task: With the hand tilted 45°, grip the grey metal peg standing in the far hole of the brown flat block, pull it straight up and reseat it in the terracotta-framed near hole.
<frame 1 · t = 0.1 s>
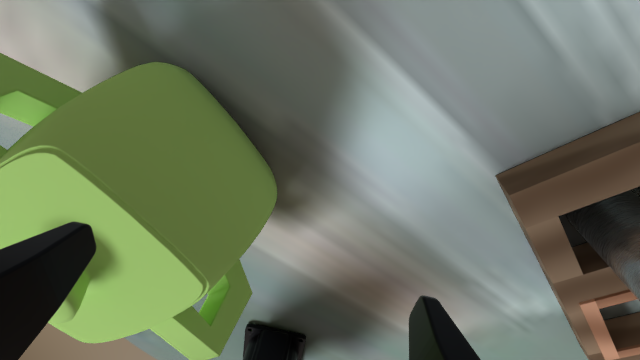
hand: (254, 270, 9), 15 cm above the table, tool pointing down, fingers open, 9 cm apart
peg: (598, 206, 23), resting in brown flat block
brown flat block: (614, 252, 25), on the table
teapot: (165, 172, 26), on the table
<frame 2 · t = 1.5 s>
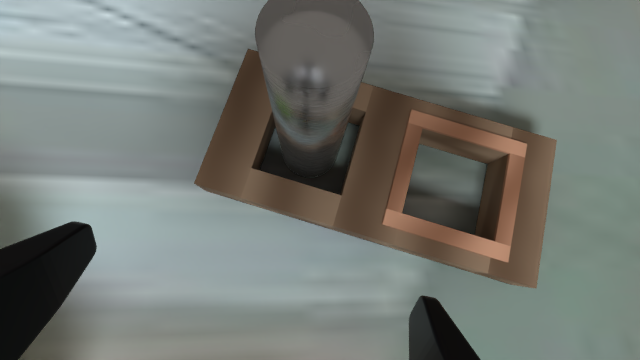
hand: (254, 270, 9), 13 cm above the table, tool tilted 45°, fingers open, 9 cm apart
peg: (309, 150, 24), resting in brown flat block
brown flat block: (374, 170, 23), on the table
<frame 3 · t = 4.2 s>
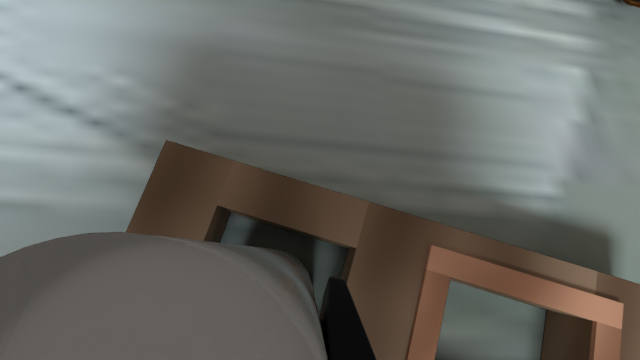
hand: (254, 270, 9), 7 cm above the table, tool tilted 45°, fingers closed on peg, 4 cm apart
peg: (269, 292, 15), resting in brown flat block, touching gripper
brown flat block: (371, 324, 15), on the table
when the fingers open (8 cm above the table, at t = 8.6 s): peg stays where it is, resting in brown flat block.
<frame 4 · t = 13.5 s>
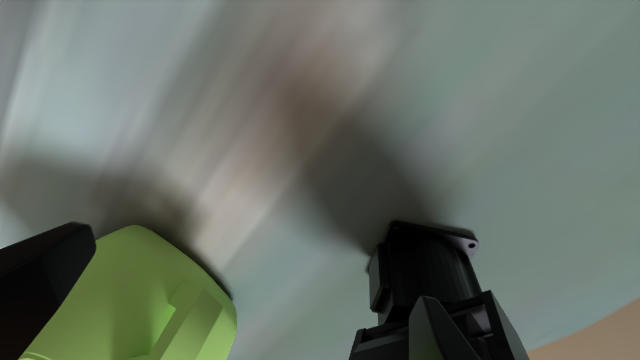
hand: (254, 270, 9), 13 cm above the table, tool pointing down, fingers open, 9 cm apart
teapot: (178, 292, 31), on the table
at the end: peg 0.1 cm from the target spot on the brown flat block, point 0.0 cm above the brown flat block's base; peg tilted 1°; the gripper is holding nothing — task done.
